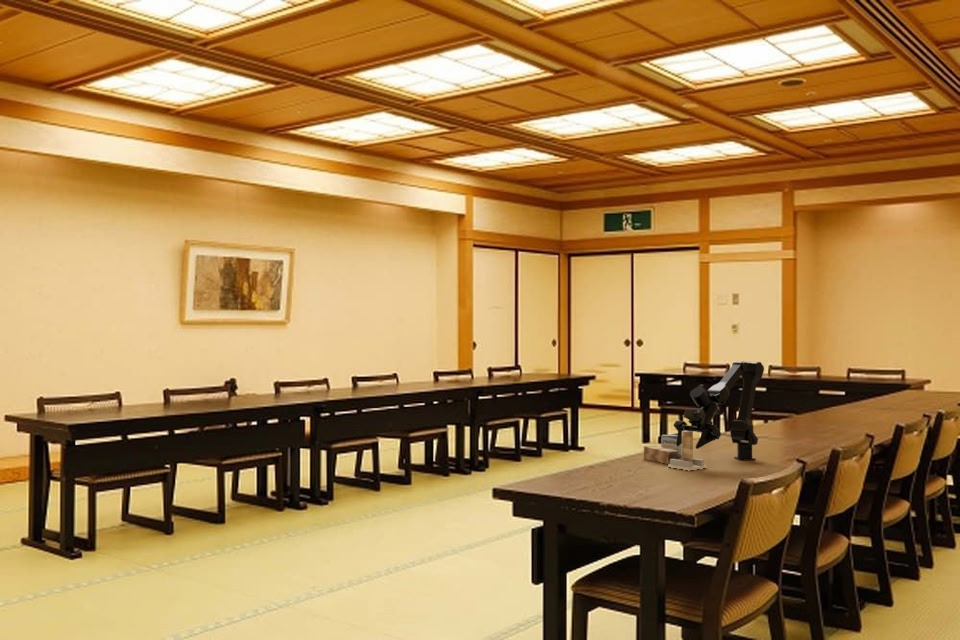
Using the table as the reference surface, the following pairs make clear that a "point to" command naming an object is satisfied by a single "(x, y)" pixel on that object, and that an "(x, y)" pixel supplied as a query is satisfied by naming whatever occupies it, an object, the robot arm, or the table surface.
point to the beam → (660, 454)
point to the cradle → (687, 464)
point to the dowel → (687, 446)
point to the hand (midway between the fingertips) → (686, 446)
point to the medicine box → (671, 443)
